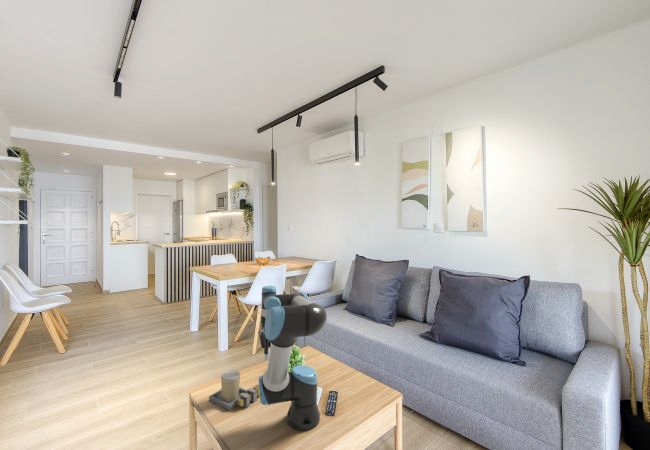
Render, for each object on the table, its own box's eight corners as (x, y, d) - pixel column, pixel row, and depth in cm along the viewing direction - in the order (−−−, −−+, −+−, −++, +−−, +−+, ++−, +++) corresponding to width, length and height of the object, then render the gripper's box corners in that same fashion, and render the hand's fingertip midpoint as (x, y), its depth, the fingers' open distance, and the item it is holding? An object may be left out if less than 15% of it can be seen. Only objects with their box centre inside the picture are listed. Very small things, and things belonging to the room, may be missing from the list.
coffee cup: (242, 393, 159) (243, 370, 158) (235, 404, 149) (236, 380, 149) (225, 391, 160) (225, 369, 159) (217, 402, 150) (217, 378, 150)
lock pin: (257, 391, 160) (257, 384, 160) (262, 393, 158) (262, 386, 158) (236, 405, 148) (236, 398, 147) (242, 408, 146) (242, 400, 146)
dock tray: (258, 399, 155) (258, 389, 155) (237, 415, 143) (237, 404, 142) (230, 388, 164) (230, 378, 164) (209, 401, 152) (209, 391, 152)
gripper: (270, 311, 170) (269, 353, 171) (254, 317, 159) (253, 362, 159) (281, 313, 166) (280, 356, 167) (265, 320, 155) (264, 366, 156)
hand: (267, 359), depth 163 cm, fingers closed
